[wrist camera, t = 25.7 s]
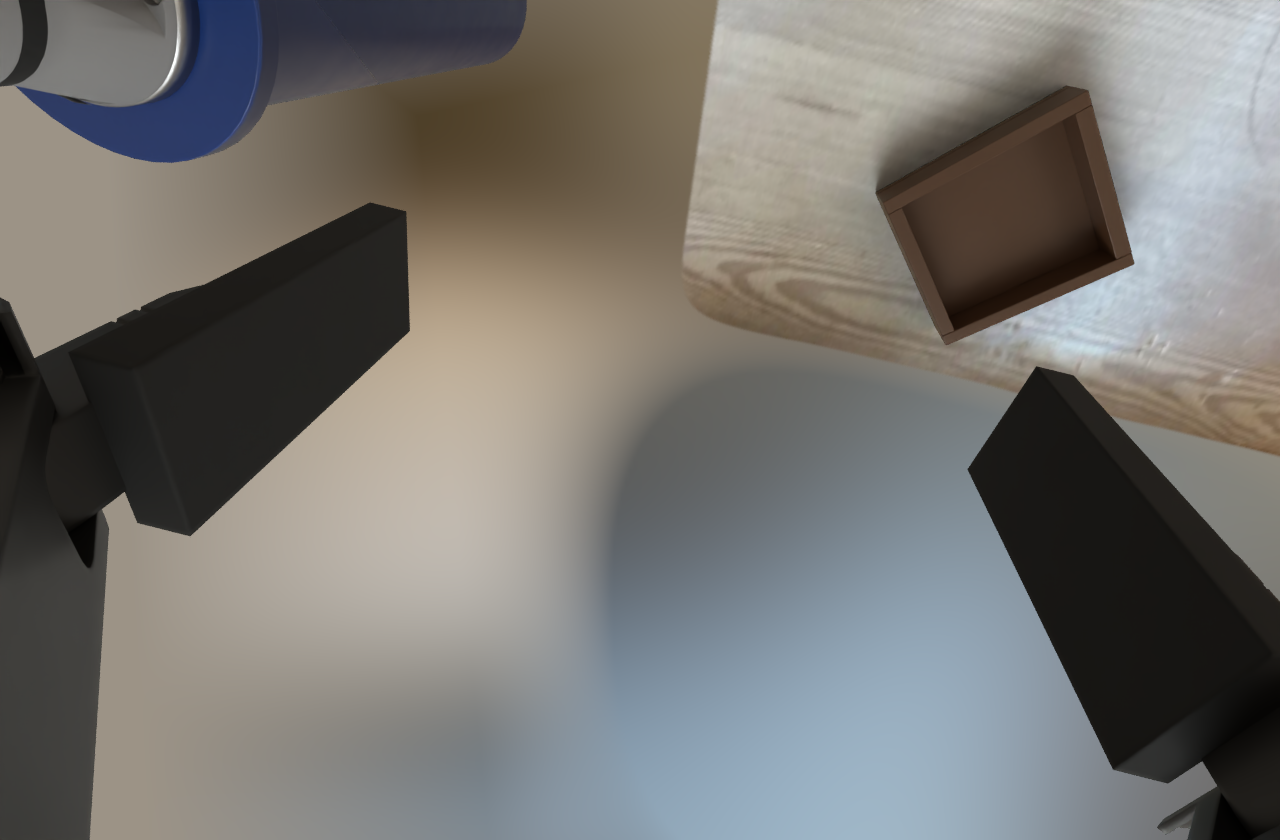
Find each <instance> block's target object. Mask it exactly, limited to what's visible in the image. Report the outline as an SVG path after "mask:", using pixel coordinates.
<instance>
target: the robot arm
mask: <svg viewBox="0 0 1280 840" xmlns="http://www.w3.org/2000/svg"><path fill="white" fill-rule="evenodd" d="M199 39H200V18H199V8H198V1H197V0H0V86H12V85H14V86H18V87H23V88H28V89H33V90H38V91H43V92H47V93H52V94H57V95H59V96H61V97H63V98H65V99H68V100H70V101H72V102H75V103H81V104H86V105H90V104H87V103H85V102H88V103H91V104H95V105H100V106H105V107H128V106H135V105H142V104H148V103H153V102H157V101H160V100H163V99H165V98H167V97H169V96H171V95H172V94H173V93H175V92H176V91H177V90H178V89H179V88H180V87H181V86H182V85H183V84H184V83H185V81H186V80H187V78H188V77H189V75H190V73H191V71H192V69H193V66H194V63H195V61H196V57H197V53H198V48H199ZM83 101H85V102H83ZM409 331H410V323H409V289H408V254H407V223H406V211H402V210H398V209H394V208H390V207H386V206H382V205H378V204H374V203H368V204H366V205H364V206H362V207H360V208H358V209H356V210H354V211H352V212H350V213H348V214H346V215H344V216H342V217H340V218H338V219H336V220H334V221H332V222H330V223H328V224H326V225H324V226H322V227H320V228H318V229H316V230H314V231H312V232H309V233H308V234H306V235H303V236H301V237H300V238H297V239H296V240H293V241H292V242H289V243H287V244H285V245H283V246H281V247H279V248H277V249H275V250H273V251H271V252H269V253H267V254H265V255H263V256H261V257H259V258H258V259H255V260H253V261H251V262H249V263H247V264H245V265H243V266H241V267H239V268H237V269H235V270H233V271H231V272H229V273H227V274H225V275H223V276H221V277H219V278H217V279H215V280H213V281H211V282H209V283H207V284H205V285H202V286H197V287H193V288H189V289H185V290H181V291H176V292H172V293H169V294H167V295H165V296H163V297H161V298H158V299H156V300H154V301H152V302H150V303H148V304H146V305H144V306H142V307H141V310H140V311H139V310H133V311H131V312H129V313H127V314H125V315H123V316H121V317H119V318H117V322H116V323H115V322H109V323H107V324H104V325H102V326H100V327H98V328H96V329H94V330H92V331H90V332H88V333H86V334H84V335H82V336H80V337H77V338H75V339H73V340H71V341H69V342H67V343H65V344H63V345H61V346H59V347H57V348H55V349H53V350H50V351H48V352H46V353H44V354H42V355H40V356H38V357H36V358H34V357H33V354H32V353H31V350H30V348H29V346H28V343H27V341H26V339H25V337H24V335H23V332H22V330H21V328H20V325H19V323H18V321H17V319H16V316H15V314H14V312H13V310H12V307H11V305H10V303H9V302H8V301H6V300H4V299H2V298H0V840H89V838H90V821H91V807H92V790H93V775H94V759H95V743H96V727H97V710H98V695H99V679H100V662H101V647H102V646H101V645H102V630H103V615H104V613H103V612H104V598H105V583H106V566H107V551H108V550H107V549H108V535H109V527H108V524H107V522H106V518H105V516H104V514H103V511H102V508H104V507H105V506H106V505H108V504H109V503H110V502H112V501H113V500H114V499H116V498H117V497H118V496H119V495H121V494H122V493H123V492H125V493H126V496H127V498H128V501H129V503H130V506H131V508H132V510H133V513H134V516H135V518H136V520H137V523H140V524H144V525H148V526H152V527H156V528H160V529H164V530H168V531H172V532H176V533H180V534H183V535H188V536H191V535H192V534H193V533H194V532H195V531H196V530H198V528H200V527H201V526H202V525H203V524H204V523H205V522H206V521H207V520H208V519H209V518H210V517H211V516H212V515H214V514H215V513H216V512H217V511H218V510H219V509H220V508H221V507H222V506H223V505H224V504H225V503H226V502H227V501H229V500H230V499H231V498H232V497H233V496H234V495H235V494H236V493H237V492H238V491H239V490H240V489H241V488H242V487H243V486H244V485H245V484H247V483H248V482H249V481H250V480H251V479H252V478H253V477H254V476H255V475H256V474H257V473H258V472H260V471H261V470H262V469H263V468H264V467H265V466H266V465H267V464H268V463H269V462H270V461H271V460H272V459H273V458H274V457H276V456H277V455H278V454H279V453H280V452H281V451H282V450H283V449H284V448H285V447H286V446H287V445H288V444H289V443H291V442H292V441H293V440H294V439H295V438H296V437H297V436H298V435H299V434H300V433H301V432H302V431H303V430H304V429H306V428H307V427H308V426H309V425H310V424H311V423H312V422H313V421H314V420H315V419H316V418H317V417H318V416H319V415H320V414H321V413H322V412H324V411H325V410H326V409H327V408H328V407H329V406H330V405H331V404H332V403H333V402H334V401H335V400H337V399H338V398H339V397H340V396H341V395H342V394H343V393H344V392H345V391H346V390H347V389H348V388H349V387H350V386H351V385H353V384H354V383H355V381H357V380H358V379H359V378H360V377H361V376H362V375H363V374H364V373H365V372H366V371H368V369H370V368H371V367H372V366H373V365H374V364H375V363H376V362H377V361H378V360H379V359H380V358H381V357H382V356H383V355H385V354H386V353H387V352H388V351H389V350H390V349H391V348H392V347H393V346H394V345H395V344H396V343H397V342H399V340H401V339H402V338H403V337H404V336H405V335H406V334H407V333H408V332H409ZM968 471H969V473H970V475H971V477H972V480H973V482H974V484H975V486H976V487H977V490H978V492H979V494H980V496H981V498H982V500H983V502H984V504H985V506H986V508H987V510H988V513H989V514H990V517H991V519H992V521H993V523H994V525H995V527H996V529H997V531H998V533H999V535H1000V537H1001V539H1002V541H1003V543H1004V546H1005V548H1006V550H1007V552H1008V554H1009V556H1010V558H1011V560H1012V562H1013V564H1014V566H1015V568H1016V570H1017V572H1018V574H1019V576H1020V578H1021V581H1022V583H1023V585H1024V587H1025V589H1026V591H1027V593H1028V595H1029V597H1030V599H1031V601H1032V603H1033V605H1034V607H1035V610H1036V611H1037V614H1038V616H1039V618H1040V620H1041V622H1042V624H1043V626H1044V628H1045V630H1046V632H1047V634H1048V636H1049V638H1050V640H1051V643H1052V645H1053V647H1054V649H1055V651H1056V653H1057V655H1058V657H1059V659H1060V661H1061V663H1062V665H1063V667H1064V669H1065V671H1066V673H1067V675H1068V677H1069V679H1070V681H1071V683H1072V686H1073V688H1074V690H1075V692H1076V694H1077V696H1078V698H1079V700H1080V702H1081V704H1082V706H1083V709H1084V711H1085V713H1086V715H1087V717H1088V719H1089V721H1090V723H1091V725H1092V727H1093V729H1094V731H1095V733H1096V735H1097V737H1098V739H1099V741H1100V743H1101V745H1102V748H1103V750H1104V752H1105V754H1106V756H1107V758H1108V760H1109V762H1110V764H1111V766H1112V768H1113V769H1114V770H1117V771H1121V772H1124V773H1128V774H1132V775H1136V776H1140V777H1144V778H1148V779H1152V780H1156V781H1161V782H1164V783H1169V782H1171V781H1173V780H1174V779H1176V778H1177V777H1179V776H1180V775H1182V774H1183V773H1185V772H1186V771H1188V770H1189V769H1191V768H1192V767H1194V766H1195V765H1197V764H1198V763H1200V762H1202V761H1203V763H1204V764H1205V766H1206V768H1207V769H1208V771H1209V773H1210V774H1211V776H1212V778H1213V779H1214V781H1215V783H1216V784H1217V787H1216V788H1214V789H1212V790H1211V791H1209V792H1207V793H1206V794H1204V795H1202V796H1201V797H1199V798H1197V799H1196V800H1194V801H1193V802H1191V803H1189V804H1188V805H1186V806H1184V807H1183V808H1181V809H1179V810H1178V811H1176V812H1174V813H1173V814H1171V815H1170V816H1168V817H1166V818H1165V819H1164V820H1163V821H1162V822H1161V823H1160V824H1159V825H1158V827H1157V828H1158V829H1160V830H1161V831H1162V832H1163V833H1164V834H1168V833H1170V832H1171V831H1173V830H1175V829H1176V828H1178V827H1180V828H1189V829H1190V832H1189V836H1188V840H1280V601H1279V600H1278V599H1277V598H1276V597H1275V596H1274V595H1273V594H1272V592H1271V591H1270V590H1269V589H1266V587H1265V586H1264V585H1263V583H1262V582H1261V580H1260V579H1259V578H1258V577H1257V576H1256V575H1255V574H1254V573H1253V572H1252V570H1250V568H1249V567H1248V566H1247V565H1246V564H1245V563H1244V562H1243V560H1242V559H1241V558H1240V557H1239V556H1238V555H1236V554H1235V553H1234V552H1233V551H1232V550H1231V549H1230V548H1229V547H1228V545H1227V544H1226V543H1225V542H1224V541H1223V540H1222V539H1221V538H1220V537H1219V536H1218V534H1217V533H1216V532H1215V531H1214V530H1213V529H1212V528H1211V527H1210V526H1209V524H1208V523H1207V522H1206V521H1205V520H1204V519H1203V518H1202V517H1201V516H1200V515H1199V514H1198V512H1197V511H1196V510H1195V509H1194V508H1193V507H1192V506H1191V505H1190V503H1189V502H1188V501H1187V500H1186V499H1185V498H1184V497H1183V496H1182V495H1181V494H1180V492H1179V491H1178V490H1177V489H1176V488H1175V487H1174V486H1173V485H1172V484H1171V482H1169V480H1168V479H1167V478H1166V477H1165V476H1164V475H1163V474H1162V473H1161V472H1160V470H1159V469H1158V468H1157V467H1156V466H1155V465H1154V464H1153V463H1152V462H1151V460H1150V459H1149V458H1148V457H1147V456H1146V455H1145V454H1144V453H1143V452H1142V451H1141V449H1140V448H1139V447H1138V446H1137V445H1136V444H1135V443H1134V442H1133V441H1132V439H1131V438H1130V437H1129V436H1128V435H1127V434H1126V433H1125V432H1124V431H1123V430H1122V429H1121V427H1120V426H1119V425H1118V424H1117V423H1116V422H1115V421H1114V420H1113V418H1112V417H1111V416H1110V415H1109V414H1108V413H1107V412H1106V411H1105V410H1104V408H1103V407H1102V406H1101V405H1100V404H1099V403H1098V402H1097V401H1096V400H1095V399H1094V397H1093V396H1092V395H1091V394H1090V393H1089V392H1088V391H1087V390H1086V389H1085V387H1084V386H1083V385H1082V384H1081V383H1080V382H1079V381H1078V380H1077V379H1076V378H1075V376H1074V375H1069V374H1065V373H1061V372H1057V371H1053V370H1049V369H1045V368H1041V367H1037V366H1036V368H1035V369H1034V371H1033V372H1032V374H1031V375H1030V377H1029V378H1028V380H1027V381H1026V383H1025V384H1024V386H1023V387H1022V389H1021V390H1020V392H1019V393H1018V395H1017V396H1016V398H1015V399H1014V401H1013V402H1012V404H1011V405H1010V407H1009V408H1008V410H1007V411H1006V413H1005V414H1004V416H1003V417H1002V419H1001V420H1000V422H999V423H998V425H997V426H996V428H995V429H994V431H993V432H992V434H991V435H990V437H989V438H988V440H987V441H986V443H985V444H984V446H983V447H982V448H981V450H980V451H979V453H978V454H977V456H976V457H975V459H974V461H973V462H972V464H971V465H970V466H969V468H968Z"/></svg>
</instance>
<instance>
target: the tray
mask: <svg viewBox="0 0 1280 840" xmlns="http://www.w3.org/2000/svg"><path fill="white" fill-rule="evenodd" d="M876 196H877V198H878V200H879V202H880V205H881V207H882V209H883V211H884V213H885V216H886V218H887V220H888V222H889V225H890V227H891V229H892V231H893V234H894V236H895V238H896V240H897V243H898V245H899V247H900V249H901V251H902V254H903V256H904V258H905V260H906V263H907V265H908V267H909V269H910V272H911V274H912V276H913V278H914V281H915V283H916V285H917V287H918V289H919V292H920V294H921V296H922V298H923V301H924V303H925V305H926V307H927V310H928V312H929V314H930V316H931V319H932V321H933V323H934V325H935V327H936V330H937V331H938V333H939V334H940V336H941V338H942V339H943V341H944V343H945V344H946V345H948V344H951V343H953V342H955V341H957V340H960V339H962V338H964V337H967V336H969V335H971V334H974V333H976V332H978V331H981V330H983V329H985V328H988V327H990V326H992V325H995V324H997V323H999V322H1002V321H1004V320H1006V319H1008V318H1011V317H1013V316H1015V315H1018V314H1020V313H1022V312H1025V311H1027V310H1029V309H1032V308H1034V307H1036V306H1039V305H1041V304H1043V303H1046V302H1048V301H1050V300H1053V299H1055V298H1057V297H1060V296H1062V295H1064V294H1066V293H1069V292H1071V291H1073V290H1076V289H1078V288H1080V287H1083V286H1085V285H1087V284H1090V283H1092V282H1094V281H1097V280H1099V279H1101V278H1104V277H1106V276H1108V275H1111V274H1113V273H1115V272H1117V271H1120V270H1122V269H1124V268H1127V267H1129V266H1131V265H1134V260H1133V256H1132V253H1131V248H1130V244H1129V241H1128V237H1127V233H1126V229H1125V226H1124V222H1123V218H1122V214H1121V211H1120V207H1119V203H1118V200H1117V196H1116V192H1115V188H1114V185H1113V181H1112V177H1111V173H1110V170H1109V166H1108V162H1107V159H1106V155H1105V151H1104V147H1103V144H1102V140H1101V136H1100V132H1099V129H1098V125H1097V121H1096V118H1095V114H1094V110H1093V106H1092V103H1091V99H1090V95H1089V92H1088V90H1084V89H1080V88H1075V87H1070V86H1065V87H1064V88H1062V89H1060V90H1058V91H1056V92H1055V93H1053V94H1051V95H1049V96H1047V97H1046V98H1044V99H1042V100H1040V101H1038V102H1037V103H1035V104H1033V105H1031V106H1030V107H1028V108H1026V109H1024V110H1022V111H1021V112H1019V113H1017V114H1015V115H1013V116H1012V117H1010V118H1008V119H1006V120H1004V121H1003V122H1001V123H999V124H997V125H996V126H994V127H992V128H990V129H988V130H987V131H985V132H983V133H981V134H979V135H978V136H976V137H974V138H972V139H970V140H969V141H967V142H965V143H963V144H962V145H960V146H958V147H956V148H954V149H953V150H951V151H949V152H947V153H945V154H944V155H942V156H940V157H938V158H936V159H935V160H933V161H931V162H929V163H928V164H926V165H924V166H922V167H920V168H919V169H917V170H915V171H913V172H911V173H910V174H908V175H906V176H904V177H902V178H901V179H899V180H897V181H895V182H894V183H892V184H890V185H888V186H886V187H885V188H883V189H881V190H879V191H877V192H876Z"/></svg>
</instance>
